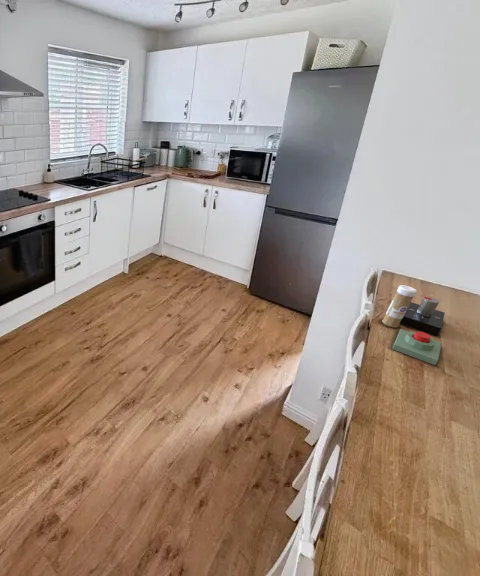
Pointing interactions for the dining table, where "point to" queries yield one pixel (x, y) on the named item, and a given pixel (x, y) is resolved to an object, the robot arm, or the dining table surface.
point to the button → (422, 337)
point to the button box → (417, 347)
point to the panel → (423, 320)
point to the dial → (427, 306)
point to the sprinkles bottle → (399, 306)
